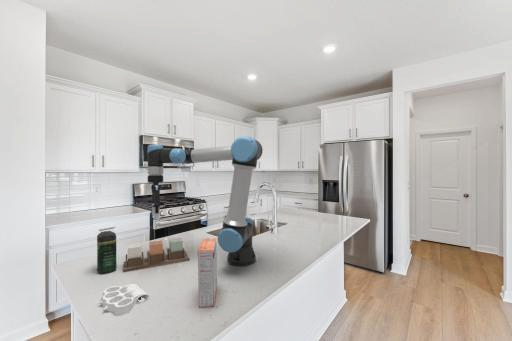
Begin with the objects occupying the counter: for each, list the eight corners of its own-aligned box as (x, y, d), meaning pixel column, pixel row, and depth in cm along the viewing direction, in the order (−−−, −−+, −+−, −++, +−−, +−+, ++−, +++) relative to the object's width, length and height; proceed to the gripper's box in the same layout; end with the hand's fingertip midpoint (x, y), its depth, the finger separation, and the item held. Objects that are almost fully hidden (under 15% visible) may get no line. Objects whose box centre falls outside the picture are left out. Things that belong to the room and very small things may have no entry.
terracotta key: (162, 255, 124) (162, 243, 124) (150, 257, 122) (150, 245, 121) (161, 251, 130) (161, 240, 130) (149, 253, 127) (149, 241, 127)
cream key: (141, 258, 120) (141, 246, 120) (127, 260, 117) (127, 248, 117) (141, 254, 125) (140, 243, 125) (128, 256, 122) (127, 244, 122)
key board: (189, 260, 129) (189, 250, 128) (123, 272, 114) (122, 260, 114) (185, 254, 137) (185, 244, 137) (123, 264, 123) (123, 253, 123)
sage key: (182, 251, 129) (182, 240, 129) (170, 253, 126) (170, 242, 126) (180, 248, 134) (180, 237, 134) (169, 250, 131) (169, 239, 131)
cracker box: (202, 288, 100) (202, 238, 99) (217, 287, 100) (217, 237, 100) (197, 308, 86) (197, 250, 85) (214, 307, 86) (214, 249, 86)
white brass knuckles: (152, 303, 89) (107, 322, 79) (133, 287, 101) (92, 301, 91) (152, 294, 89) (107, 312, 78) (133, 279, 101) (92, 292, 91)
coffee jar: (118, 271, 116) (117, 232, 115) (98, 275, 111) (97, 235, 110) (114, 264, 123) (114, 228, 123) (96, 268, 118) (95, 231, 118)
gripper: (146, 174, 133) (146, 214, 134) (148, 175, 113) (149, 222, 113) (160, 174, 137) (161, 212, 137) (165, 175, 116) (166, 221, 117)
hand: (155, 217), depth 125 cm, fingers open, 10 cm apart
